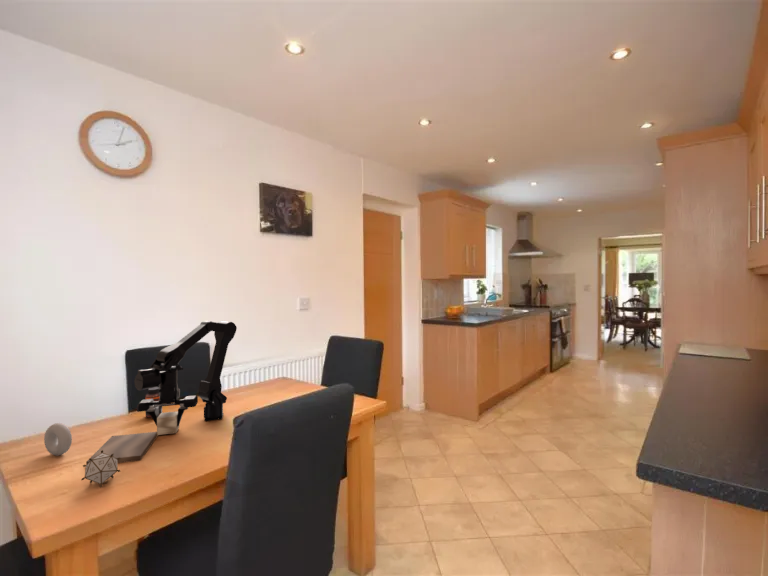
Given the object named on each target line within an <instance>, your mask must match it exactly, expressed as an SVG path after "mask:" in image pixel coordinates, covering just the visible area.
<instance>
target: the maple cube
mask: <svg viewBox="0 0 768 576" xmlns="http://www.w3.org/2000/svg"><path fill="white" fill-rule="evenodd" d="M177 417H178V410H177V411H168V412H166V411H165V412H162V413H161V414H160V415H159V416H158V418H157V426H156V432H157V435H158V436H161V435H169V434H170V435H171V434H177V432H178V431H179V429H180V425H179V426H177Z"/></svg>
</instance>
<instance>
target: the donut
mask: <svg viewBox="0 0 768 576" xmlns="http://www.w3.org/2000/svg"><path fill="white" fill-rule="evenodd" d="M43 436H44V440H43V443H44V446H45V449H46V451H47V452H48V453H49V454H50V455H53V456H62V455H64V454H65V453H67V452H68V451H69V450H70V448H71V445H72V442H73V437H72V436H73V435H72V433H71V430H70V428H69V427H68V426H67V425H66V424H65V423H61V422H59V423H58V422H57V423H53V424H51V425H50V426H49V427H48V428H47V429H46V430H45V432H44V435H43Z"/></svg>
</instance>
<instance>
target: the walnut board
mask: <svg viewBox="0 0 768 576" xmlns="http://www.w3.org/2000/svg"><path fill="white" fill-rule="evenodd" d="M158 436H159V435H157V431H150V432H149V431H148V432H140V433H139V432H138V433H129V434H120V435H112V436H111V437H109V438H108V439H107V440H106V441H105V443H103V445H101V446H100V448H98V449H97V450H96V451H95V452H94V454H93V455H91V456H90V458H91V459H93V458H95V457H96V456H98V455H99V454H101V451H102V450H103V453H105V454H108V455H111V454H114V455H113V457H115V458H117V459H118V458H119V457H121V458H120V459H119V460H118V464H119V463H121V464H122V463H128V462H135V461H136V462H138V461H141V460H142V459H143V458H144V456H145V455H146V453H147V451H148V450H150V447H152V444H153V443H154V442H155V440H156V439H157V438H158ZM89 462H90V460H89V459H87V460H86V462H85V465H87V464H88V463H89Z"/></svg>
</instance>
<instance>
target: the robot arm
mask: <svg viewBox="0 0 768 576" xmlns="http://www.w3.org/2000/svg"><path fill="white" fill-rule="evenodd" d="M237 329H238V328H237V325H236V324H235V323H234V322H232V321H225V320H224V321H223V320H221V321H218V322H214V321H210V320H203V321H202V322H200V324H199V325H197V326H196V327H195V328H193V329H192V330H191V331H190V332H189V333H187V334H186V335H184V337H181V339H180V340H178V342H175V343H174V344H171V345H167V346H166V347H164V348H162V349H161V350H159V351H158V353H157V354H156V358H155V359H154V361H153V362H152V364H151V365H150V366H149V368H148V369H138V370H137V373H136V375H135V377H134V381H133V383H134V387H135V389H136V390H137V391H138V392H139V391H143V390H147V389H149V388H154V387H159V401H155V402H154V400H153V399H142V400H141V401H139V402H138V404H137V405H136V413H137V412H138V413H140V412H145V414H146V413H149V414H150V416H151V417H152V418H151V419H152V420H153V421H154V424H155V426H156V427H157V418H158V416H159V407H160V406H162V407H169V406H179V408H178V409H177V411H178V417H177V426H179V427H180V425H181V424H180V423H181V421H182V417H183V415H184V412H185V411H187V410H188V409H189V408H194V407H196V406H197V404H198V403H199V399H201V400H202V402H203V403H205V404H204V405H205V406H204V407H203V419H204V421H205V422H207V421H217V420H218V421H219V420H223V418H224V415H225V414H224V404H225V403H226V402H227V401H228V397H227V396H226V395H225V394H224V393H223V392H222V388H223V386H222V381H221V376H222V371H223V367H224V363H225V359H226V355H227V351H228V347H229V343H231V341H232V340H233V339H234V337H235V335H236V333H237ZM210 332H214V333H213V335H214V336H213V337H214V339H215V344H214V349H213V352H212V356H211V360H210V364H209V369H208V372H207V376H206V378H205V379H204V380H200V381H199V384H198V385H199V386H198V389H197V392H198V396H197V395H188V396H187V395H186V396H185V397H184V398H183V399H180V398H181V397H180V396H181V389H180V388H179V386H178V372H179V371H183V370H184V367H182V366H181V365H180V362H181V361H182V360H183V359H184V357H185V355H186V353H187V352H188V351H189V350H190V349H191V348H193V346H194V345H196V344H197V343H198V342H199V341H201V340H202V339H203V338H204V337H205V336H207V335H209V333H210ZM198 397H199V398H198Z"/></svg>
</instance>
